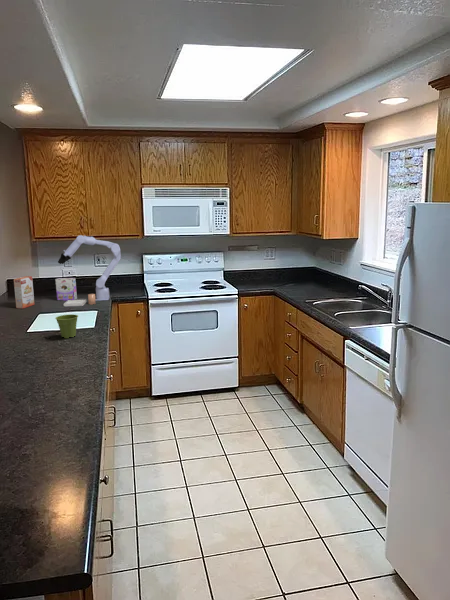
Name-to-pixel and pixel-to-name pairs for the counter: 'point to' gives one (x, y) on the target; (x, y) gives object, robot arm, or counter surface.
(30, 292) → the cracker box
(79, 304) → the tray
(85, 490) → the counter surface
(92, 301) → the peach small lump
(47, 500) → the counter surface
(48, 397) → the counter surface
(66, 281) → the candy box
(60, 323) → the plant pot
